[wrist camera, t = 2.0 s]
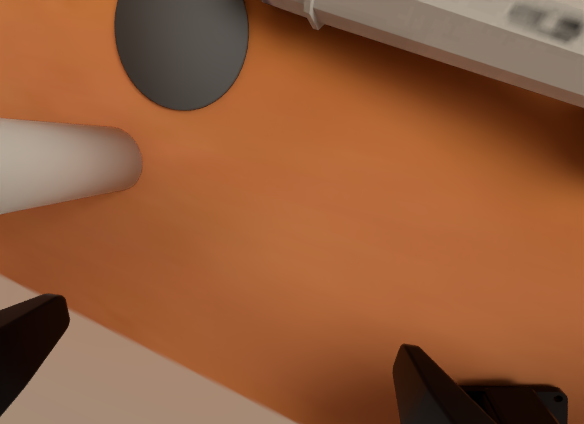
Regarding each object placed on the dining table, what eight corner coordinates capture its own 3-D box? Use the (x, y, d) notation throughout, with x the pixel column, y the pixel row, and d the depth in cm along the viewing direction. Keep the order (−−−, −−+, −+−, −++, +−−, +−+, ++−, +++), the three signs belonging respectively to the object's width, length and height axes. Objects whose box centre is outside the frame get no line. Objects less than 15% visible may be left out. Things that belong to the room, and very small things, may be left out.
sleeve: (149, 185, 21) (-128, 240, 9) (99, 194, 22) (-210, 254, 10) (131, 120, 20) (-205, 82, 8) (79, 133, 21) (-287, 117, 9)
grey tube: (271, -154, 12) (1221, 48, 6) (312, -43, 18) (805, 106, 12) (230, -14, 13) (968, 246, 8) (280, 43, 19) (708, 209, 14)
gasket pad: (262, 93, 17) (260, 92, 17) (140, 123, 20) (137, 122, 19) (230, -75, 16) (227, -79, 15) (100, -23, 18) (96, -25, 18)
